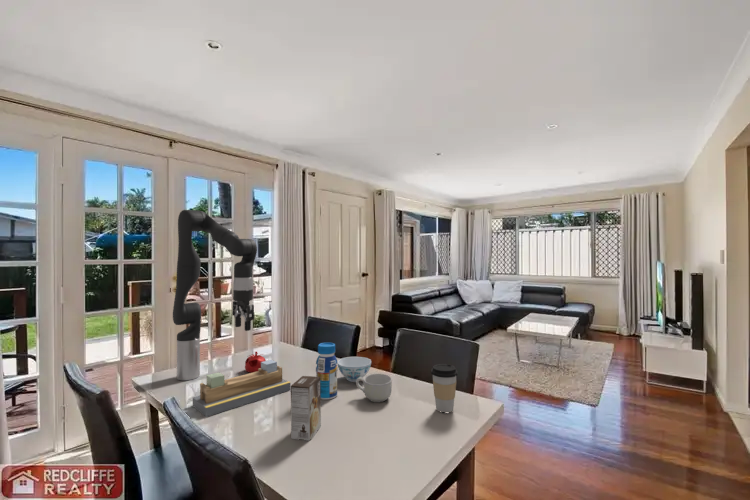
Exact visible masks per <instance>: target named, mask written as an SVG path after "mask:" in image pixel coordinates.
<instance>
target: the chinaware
mask: <svg viewBox="0 0 750 500" xmlns="http://www.w3.org/2000/svg"><path fill="white" fill-rule="evenodd" d="M336 365H337V367H338V370H339V373H341V375H342V376H343V377H345V378H346V381H348V382H350V383H351V382H353V383H356V380H357V379H358V378H359V377H362V378H365V377H366V376H367V374H368V373H369V371H370V368H371V365H372V359H370V358H368V357H364V356H347V357H342V358H340V359H337V364H336ZM360 381H361V380H359V382H360Z"/></svg>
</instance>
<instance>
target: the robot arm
mask: <svg viewBox="0 0 750 500" xmlns="http://www.w3.org/2000/svg"><path fill="white" fill-rule="evenodd" d="M193 232H205V233H209V234H210V236H211V237H210V238H211V239H212V240H213V241H214V242H215V243H217V244H218V245H220V246H222V247H224V248H225V250H227V251H228V252H229V253H230V254H231V255H233V256H235V257H241V260H240V261H238V262H236V263H235V264H234V266H233V282H232V283H233V284H232V286H233V287H232V300H233V301H232V314H231V315H232V317H233V316H234V326H235V328H241V326H242V317H243V319H244V331H245V332H248V331H251V329H252V325H251V324H252V321H254V320H255V305H254V304H251V303H250V301H252V300H253V299H254V279H253V278H254V276H253V273H254V271H253V270H254V269H253V268H254V265H255V264H254V263H255V260H256V256H257V253H258V246H257V243H256V241H255V240H253V239H251V238H239V235H238V234H237V233H236V232H234V231H232V230H230V229H228V228H226V227H224V226H223V225H221V224H220V223H218V222H217V221H216V220H215V219H213V218H212V217H211V216H210V215H209V214H208V213H206V212H204V211H202V210H196V209H183V210H181V211H180V212H179V215H178V218H177V235H178V237H177V238H178V239H177V240H178V249H177V263H176V284H175V294H174V301H173V302H174V303H173V307H172V321H173V323H174V324H175V325H176V326H183V325H189V326H188V327H186V328H185V329H183V330H182V331H179V332H178V333H177V334H176V380H178V381H191V380H194V379H197V378H199V377H200V375H201V337H200V336H201V329H202V328H201V324H202V323H201V321H202V307H201V304H200V303H198V302H186V298H187V296H188V294H189V292H190V291H191V289H192V288H193V287H194V285H195V284H196V283H197V281H199V277H200V275H201V265H202V263H201V258H200V256H199V254H198V252H197V250H196V248H195V247H194V245H193V239H192V238H193V236H192V235H193Z"/></svg>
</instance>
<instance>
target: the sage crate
mask: <svg viewBox="0 0 750 500" xmlns="http://www.w3.org/2000/svg"><path fill="white" fill-rule="evenodd" d="M224 380H225V374H223V373H221V372H214V373H211V374H206V385H207V386H208V387H210V388H215V387H219V386H223V385H224Z"/></svg>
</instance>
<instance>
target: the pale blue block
mask: <svg viewBox="0 0 750 500" xmlns="http://www.w3.org/2000/svg"><path fill="white" fill-rule="evenodd" d="M277 366H278V362H277V361H275V360H273V359H268V360H266V361H264V362H261V369H263V370H265V371H267V372H268V373H271V372H275V371H277Z"/></svg>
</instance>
